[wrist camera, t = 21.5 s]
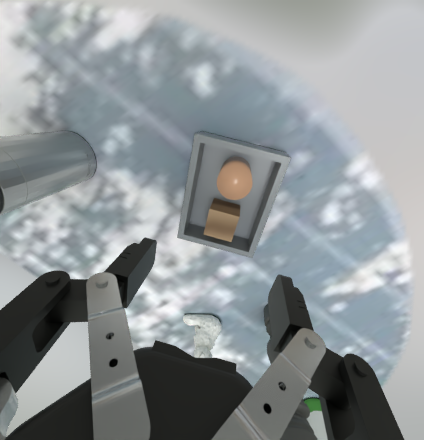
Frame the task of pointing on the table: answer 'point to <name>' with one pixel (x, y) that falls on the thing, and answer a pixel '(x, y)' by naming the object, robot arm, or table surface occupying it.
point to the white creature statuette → (203, 333)
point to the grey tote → (207, 190)
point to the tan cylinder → (235, 178)
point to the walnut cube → (222, 220)
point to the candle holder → (298, 426)
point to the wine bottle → (316, 418)
